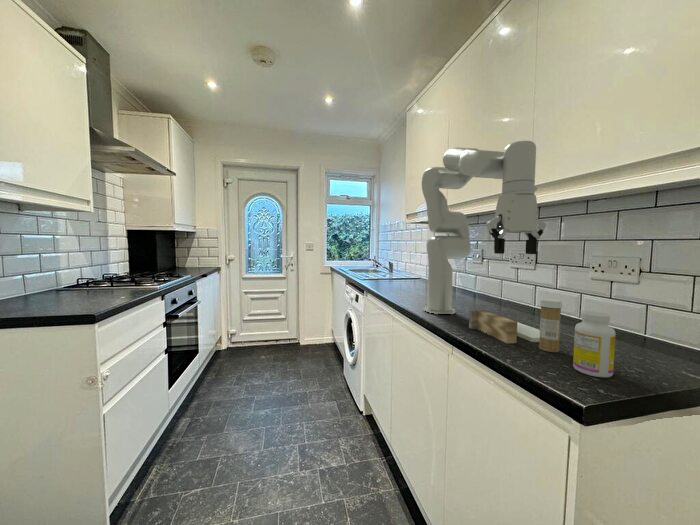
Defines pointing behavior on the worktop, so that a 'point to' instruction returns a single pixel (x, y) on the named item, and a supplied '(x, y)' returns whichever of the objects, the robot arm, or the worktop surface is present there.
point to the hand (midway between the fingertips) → (515, 253)
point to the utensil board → (528, 333)
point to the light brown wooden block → (494, 325)
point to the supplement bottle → (594, 345)
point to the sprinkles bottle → (550, 324)
